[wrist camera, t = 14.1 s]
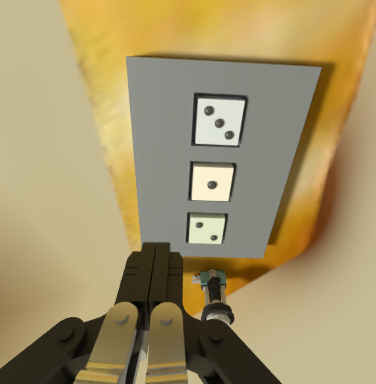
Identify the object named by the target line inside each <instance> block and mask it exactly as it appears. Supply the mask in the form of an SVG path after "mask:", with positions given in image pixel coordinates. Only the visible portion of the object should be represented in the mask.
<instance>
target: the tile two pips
mask: <svg viewBox="0 0 376 384" xmlns="http://www.w3.org/2000/svg"><path fill="white" fill-rule="evenodd" d="M224 223H225V215H224V213H199V212H190V221H189V243H202V244H221V241H222V235H223V229H224Z"/></svg>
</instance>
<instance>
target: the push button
mask: <svg viewBox="0 0 376 384" xmlns="http://www.w3.org/2000/svg"><path fill="white" fill-rule="evenodd" d="M194 277H196V278H194ZM192 279H198V280H192V283H201V289H202V290H203V291H205V304H206V306H205V307H204V309H203V312H202V316H201V321H203V322H205V321H206V320H209V319H219V320H222V321H223V322H225V323H226V324H227V325H228V326H229V327H230V325H231V324H232V323H233V322H234V314H233V313H232V310H231V308H230V306H228V305H227V304H226V298H225V292H224V290H225V289H226V277H225V271H224V270H219V271H215V270H214V269H210V270H209V271H202V272H200V275H197V276H192ZM194 281H196V282H194ZM220 290H221V293H220ZM208 291H209V297H208ZM221 297H222V303H221ZM209 299H210V304H209Z"/></svg>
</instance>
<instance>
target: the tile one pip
mask: <svg viewBox="0 0 376 384" xmlns="http://www.w3.org/2000/svg"><path fill="white" fill-rule="evenodd" d="M233 169H234V168H233V165H232V163H229V162H204V161H193V174H192V190H191V193H192V200H205V201H228V199H229V193H230V187H231V181H232V175H233Z"/></svg>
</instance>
